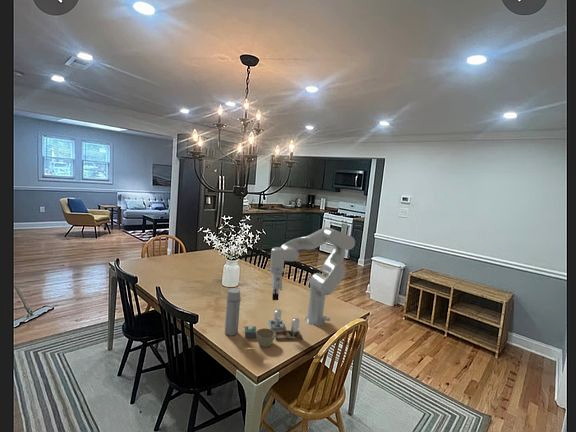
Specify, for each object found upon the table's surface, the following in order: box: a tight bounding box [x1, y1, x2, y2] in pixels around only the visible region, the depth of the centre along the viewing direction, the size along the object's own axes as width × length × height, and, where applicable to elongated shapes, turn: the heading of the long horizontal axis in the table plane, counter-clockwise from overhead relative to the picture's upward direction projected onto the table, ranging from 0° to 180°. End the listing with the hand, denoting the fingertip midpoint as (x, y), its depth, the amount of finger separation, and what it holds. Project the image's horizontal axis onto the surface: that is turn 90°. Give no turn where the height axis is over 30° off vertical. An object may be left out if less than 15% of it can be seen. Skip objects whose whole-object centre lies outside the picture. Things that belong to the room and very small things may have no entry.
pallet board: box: [273, 329, 303, 341], centre depth 171 cm, size 14×7×3 cm, turn 101°
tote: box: [268, 319, 286, 331], centre depth 181 cm, size 8×8×3 cm
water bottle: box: [224, 287, 242, 337], centre depth 169 cm, size 9×8×25 cm
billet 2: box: [290, 317, 300, 337], centre depth 171 cm, size 4×4×10 cm
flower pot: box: [256, 327, 275, 348], centre depth 162 cm, size 10×10×7 cm
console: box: [244, 325, 257, 339], centre depth 170 cm, size 6×6×4 cm
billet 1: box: [272, 308, 282, 327], centre depth 180 cm, size 4×4×10 cm
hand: (275, 299), depth 177 cm, fingers closed
